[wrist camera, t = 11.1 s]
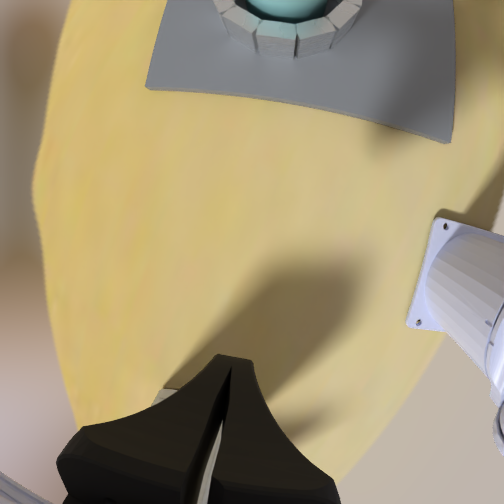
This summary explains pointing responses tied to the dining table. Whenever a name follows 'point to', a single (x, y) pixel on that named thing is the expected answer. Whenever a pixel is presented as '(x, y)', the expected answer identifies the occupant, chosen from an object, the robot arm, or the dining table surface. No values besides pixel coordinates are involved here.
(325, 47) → the grey segmented ring
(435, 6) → the board
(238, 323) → the dining table surface
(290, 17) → the plug
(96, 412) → the dining table surface
